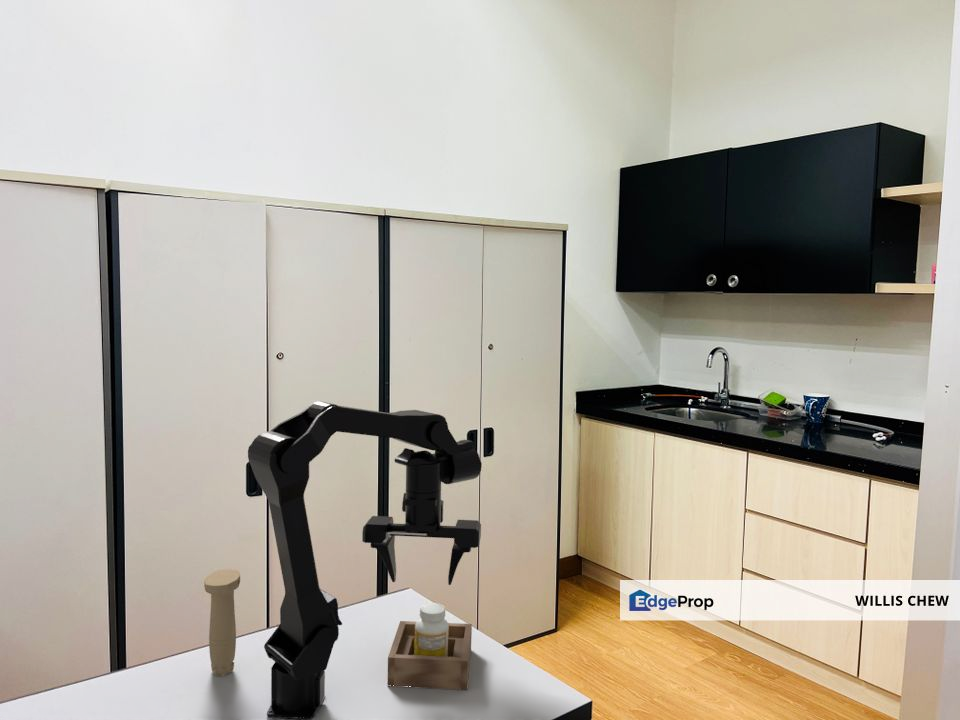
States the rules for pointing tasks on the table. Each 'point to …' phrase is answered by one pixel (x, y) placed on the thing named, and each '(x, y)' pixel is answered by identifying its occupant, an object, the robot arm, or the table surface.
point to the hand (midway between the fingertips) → (421, 582)
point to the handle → (222, 619)
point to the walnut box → (430, 660)
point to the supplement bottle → (431, 631)
